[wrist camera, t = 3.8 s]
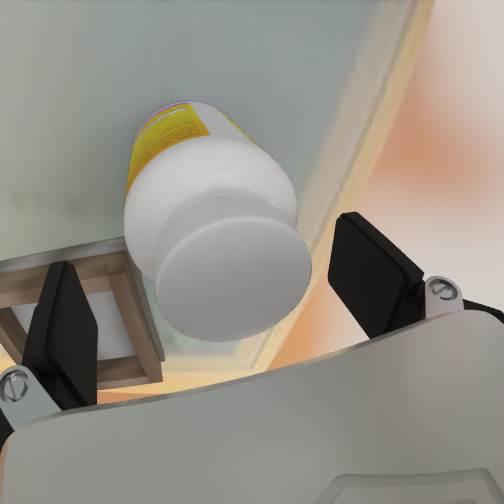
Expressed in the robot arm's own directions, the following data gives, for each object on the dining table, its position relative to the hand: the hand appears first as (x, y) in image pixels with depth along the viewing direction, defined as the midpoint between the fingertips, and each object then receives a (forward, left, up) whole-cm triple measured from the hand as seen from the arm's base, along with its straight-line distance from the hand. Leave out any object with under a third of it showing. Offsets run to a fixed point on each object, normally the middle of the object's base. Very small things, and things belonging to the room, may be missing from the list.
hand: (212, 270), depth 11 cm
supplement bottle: (0, -1, -11) cm, 11 cm away
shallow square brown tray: (+11, +11, -11) cm, 19 cm away
